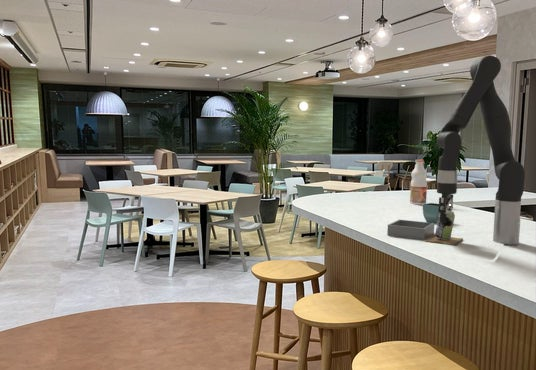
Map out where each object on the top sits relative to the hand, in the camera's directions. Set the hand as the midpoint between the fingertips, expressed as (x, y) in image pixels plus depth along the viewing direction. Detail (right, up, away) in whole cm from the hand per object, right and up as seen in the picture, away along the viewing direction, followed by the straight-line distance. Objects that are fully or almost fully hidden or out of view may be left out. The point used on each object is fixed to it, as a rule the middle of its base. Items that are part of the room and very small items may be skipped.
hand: (445, 221), depth 193 cm
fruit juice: (+19, +2, +96) cm, 98 cm away
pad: (0, -8, +1) cm, 8 cm away
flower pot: (+10, -4, +42) cm, 43 cm away
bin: (-10, -7, +13) cm, 18 cm away
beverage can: (0, -8, +1) cm, 8 cm away
